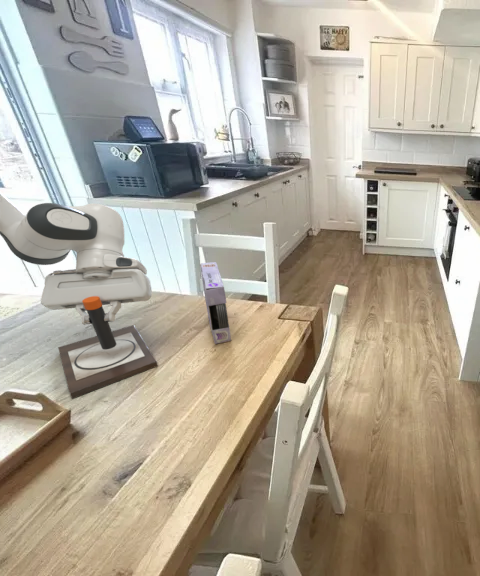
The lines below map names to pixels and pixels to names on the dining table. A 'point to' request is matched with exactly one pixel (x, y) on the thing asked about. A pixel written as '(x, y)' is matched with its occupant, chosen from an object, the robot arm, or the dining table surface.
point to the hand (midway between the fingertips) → (98, 322)
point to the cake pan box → (215, 302)
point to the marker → (99, 322)
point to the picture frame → (104, 361)
